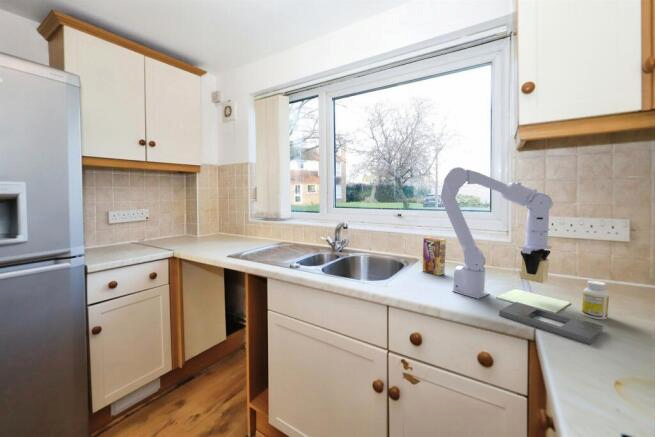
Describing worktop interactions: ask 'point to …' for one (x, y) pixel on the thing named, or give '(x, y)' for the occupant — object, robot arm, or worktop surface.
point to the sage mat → (534, 300)
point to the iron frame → (571, 329)
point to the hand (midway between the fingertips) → (534, 272)
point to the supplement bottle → (595, 300)
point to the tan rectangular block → (541, 271)
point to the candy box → (434, 255)
